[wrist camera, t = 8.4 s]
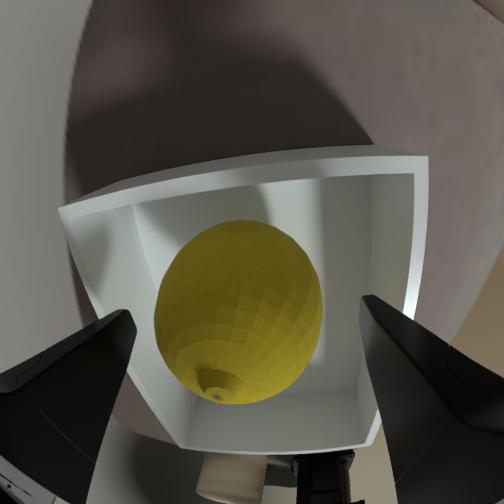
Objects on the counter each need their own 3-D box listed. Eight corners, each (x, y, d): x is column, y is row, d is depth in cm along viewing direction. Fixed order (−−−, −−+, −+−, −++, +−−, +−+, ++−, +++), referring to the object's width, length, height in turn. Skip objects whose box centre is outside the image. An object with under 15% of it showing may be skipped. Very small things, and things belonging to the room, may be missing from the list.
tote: (360, 387, 17) (371, 445, 13) (196, 394, 19) (180, 447, 15) (375, 144, 11) (427, 155, 6) (122, 179, 13) (57, 208, 8)
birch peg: (270, 443, 21) (261, 507, 15) (217, 438, 22) (202, 499, 16) (270, 419, 19) (260, 495, 13) (210, 413, 20) (189, 484, 14)
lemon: (182, 210, 13) (75, 311, 5) (302, 188, 12) (335, 285, 4) (212, 309, 15) (165, 440, 7) (317, 297, 14) (336, 441, 6)
